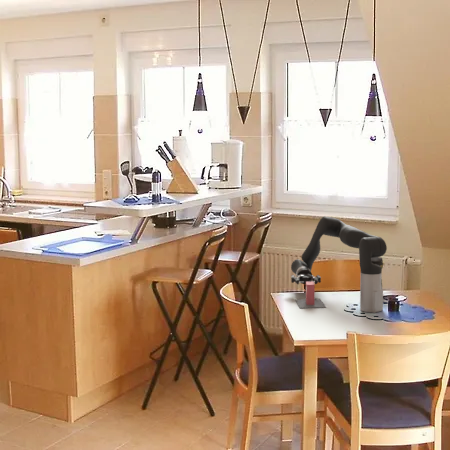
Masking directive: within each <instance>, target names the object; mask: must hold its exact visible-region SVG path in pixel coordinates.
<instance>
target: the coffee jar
mask: <svg viewBox="0 0 450 450" xmlns="http://www.w3.org/2000/svg"><path fill="white" fill-rule="evenodd" d="M371 261H372V263H373V264H376V265H379V266H381V269H382V270H383V268H384V267H383V266H384V260H383V258H382V256H381V257H375V258H371ZM382 275H383V274H382V272H381V289H382V290H383V279H382V277H383V276H382Z"/></svg>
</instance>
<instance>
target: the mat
mask: <svg viewBox="0 0 450 450" xmlns="http://www.w3.org/2000/svg"><path fill="white" fill-rule="evenodd" d="M294 301H295V302H296V304H297V306H298V307H299V309H324V308H325V309H326V308H327V306H326V304H325V303H324V302H323V301H322V299H321V298H314V305H307V304H306V298H299V299H298V298H297V299H294Z"/></svg>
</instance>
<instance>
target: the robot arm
mask: <svg viewBox="0 0 450 450" xmlns="http://www.w3.org/2000/svg"><path fill="white" fill-rule="evenodd" d="M323 236H327V237H334V238H339V240H340V241H341V243H342V244H344V245H346V246H348V247H349V248H354V249H358V255H359V256H358V257H359V268H360V286H359V288H360V290H359V292H360V293H359V294H360V296H359V309H360V311H361V312H365V313H379V312H382V311H383V310H384V308H383V307H384V290H383V288H382V289H381V272H382V270H383V268H382V269H381V266H379V265H376V264H373V263H372V261H371V258H375V257H381V258H382V257H383V256H384V255H385V254H386V253H387V249H388V247H387V243H386V241H385V240H384V239H383V238H382V237H380V236H377V235H373V234H370V233H368V232H365V231H363V230H361V229H359V228H357V227H355V226H352V225H349V224H346V223H345V222H344V221H342V220H341V219H340V218H336V217H332V216H326V215H324V216H322V217H321V218H320V219H319V221H318V223H317V224H316V226H315V229H314V231H313V234H312V237H311V239H310V241H309V244H307V246H306V248H305V250H304V251H303V252H302V254H301V259H299V258H298V259H294V260H293V261H292V263H291V265H290V268H291V271H292V272H293V273H294V274H295V275H294V274H292V275H290V278H291V279H290V280H291V283H294V284H297V285H299V284H302V285H306V282H314V285H317V284H319V283H322V281H321V280H322V277H321V276H320V275H319V274H317V275H316V276H315V275H313V274H312V268H313V264H314V262H315V261H316V259H317V258H318V256H319V255H320V252H321V238H322V237H323Z"/></svg>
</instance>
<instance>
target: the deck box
mask: <svg viewBox="0 0 450 450" xmlns="http://www.w3.org/2000/svg"><path fill="white" fill-rule="evenodd" d="M305 299H306V304H307V305H314V299H315V283H314V282H306V284H305Z"/></svg>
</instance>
